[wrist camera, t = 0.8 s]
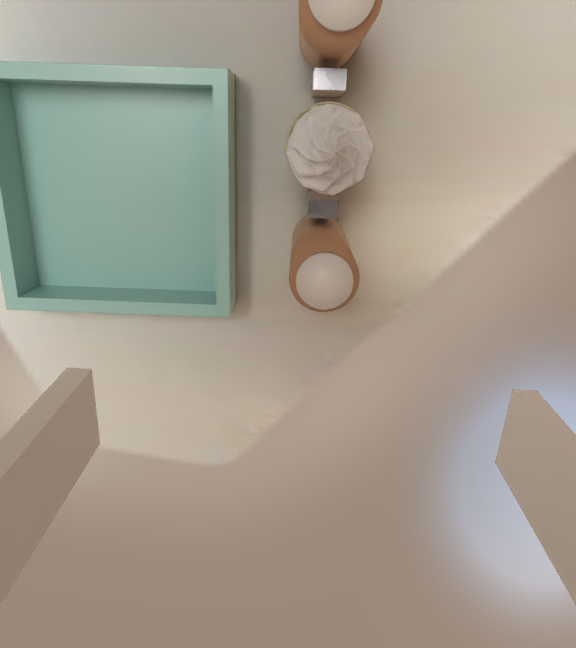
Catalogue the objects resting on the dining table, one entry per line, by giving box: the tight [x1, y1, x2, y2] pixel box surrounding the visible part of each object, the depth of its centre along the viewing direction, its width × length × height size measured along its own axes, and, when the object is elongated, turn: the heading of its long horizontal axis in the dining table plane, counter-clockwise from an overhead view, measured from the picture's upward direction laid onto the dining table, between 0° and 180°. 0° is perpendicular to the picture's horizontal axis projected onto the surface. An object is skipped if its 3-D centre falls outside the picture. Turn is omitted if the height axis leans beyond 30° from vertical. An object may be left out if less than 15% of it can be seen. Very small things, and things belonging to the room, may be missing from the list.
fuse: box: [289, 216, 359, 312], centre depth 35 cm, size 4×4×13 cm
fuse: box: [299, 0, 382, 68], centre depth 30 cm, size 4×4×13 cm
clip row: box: [303, 68, 347, 306], centre depth 35 cm, size 21×2×6 cm, turn 178°
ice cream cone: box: [286, 102, 374, 195], centre depth 31 cm, size 5×5×15 cm
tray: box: [0, 61, 236, 318], centre depth 38 cm, size 17×17×4 cm
